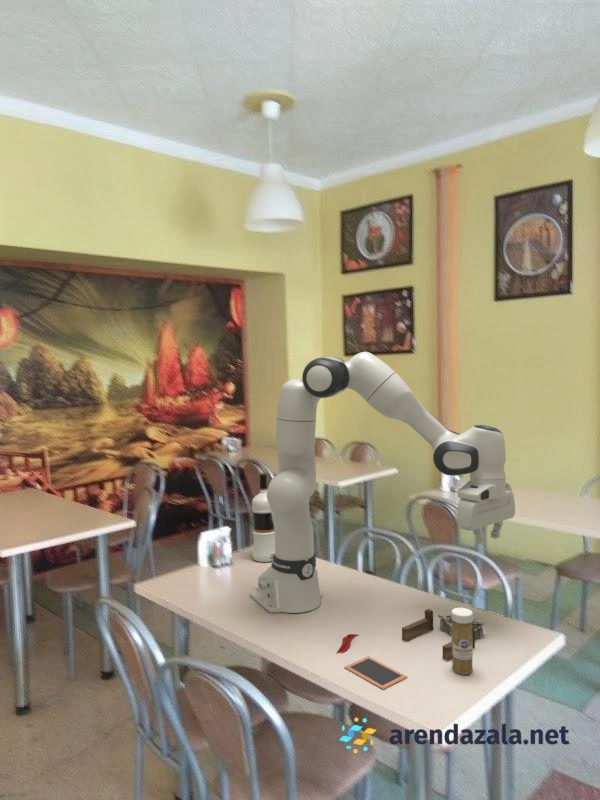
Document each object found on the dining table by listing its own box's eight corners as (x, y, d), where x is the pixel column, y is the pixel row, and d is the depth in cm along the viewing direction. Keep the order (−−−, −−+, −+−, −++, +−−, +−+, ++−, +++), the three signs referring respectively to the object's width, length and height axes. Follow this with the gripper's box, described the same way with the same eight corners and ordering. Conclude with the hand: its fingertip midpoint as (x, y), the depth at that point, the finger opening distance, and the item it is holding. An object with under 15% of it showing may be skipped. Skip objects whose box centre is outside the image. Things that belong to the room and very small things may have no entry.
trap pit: (344, 668, 137) (344, 666, 137) (368, 657, 142) (368, 655, 142) (383, 690, 128) (383, 688, 128) (407, 677, 132) (407, 676, 132)
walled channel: (402, 639, 150) (401, 619, 150) (428, 627, 156) (428, 608, 156) (447, 660, 139) (447, 639, 139) (474, 647, 145) (474, 626, 145)
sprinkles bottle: (457, 676, 132) (457, 616, 131) (448, 666, 137) (447, 607, 136) (477, 674, 133) (476, 614, 132) (467, 663, 138) (466, 605, 137)
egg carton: (435, 629, 156) (435, 613, 156) (457, 622, 160) (456, 607, 160) (466, 645, 147) (465, 629, 147) (488, 637, 151) (488, 621, 150)
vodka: (252, 555, 218) (250, 471, 216) (278, 553, 219) (276, 471, 217) (252, 563, 209) (249, 477, 207) (279, 562, 209) (276, 476, 207)
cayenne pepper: (354, 634, 155) (353, 626, 155) (368, 639, 152) (368, 632, 152) (323, 651, 146) (323, 644, 146) (338, 657, 143) (338, 649, 143)
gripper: (500, 480, 167) (500, 530, 168) (453, 492, 154) (453, 545, 155) (521, 483, 162) (521, 535, 163) (474, 496, 149) (474, 551, 150)
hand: (487, 540), depth 159 cm, fingers open, 5 cm apart
